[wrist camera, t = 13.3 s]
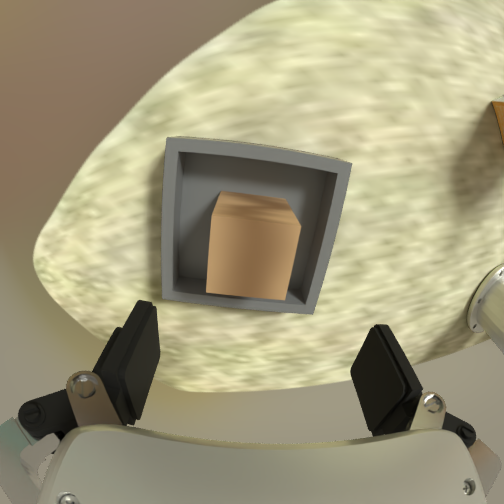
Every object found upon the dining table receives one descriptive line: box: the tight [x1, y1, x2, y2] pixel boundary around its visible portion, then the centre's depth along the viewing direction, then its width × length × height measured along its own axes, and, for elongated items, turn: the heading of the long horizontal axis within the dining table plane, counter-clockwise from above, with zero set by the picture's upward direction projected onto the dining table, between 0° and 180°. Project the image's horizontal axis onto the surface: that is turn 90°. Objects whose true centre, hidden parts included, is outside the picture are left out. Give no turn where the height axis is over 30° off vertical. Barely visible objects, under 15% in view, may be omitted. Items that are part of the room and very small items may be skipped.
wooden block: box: [206, 191, 301, 300], centre depth 21 cm, size 6×6×7 cm
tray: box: [161, 136, 352, 314], centre depth 23 cm, size 14×14×4 cm
